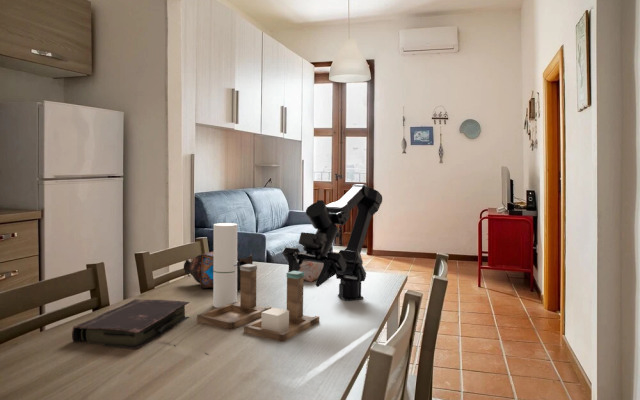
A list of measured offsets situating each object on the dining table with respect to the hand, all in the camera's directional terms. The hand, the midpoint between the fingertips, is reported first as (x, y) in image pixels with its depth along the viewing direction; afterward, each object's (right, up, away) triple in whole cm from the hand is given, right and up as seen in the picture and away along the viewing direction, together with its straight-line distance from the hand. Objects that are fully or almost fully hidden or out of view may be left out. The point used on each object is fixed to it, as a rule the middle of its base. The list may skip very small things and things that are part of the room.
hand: (302, 283), depth 132 cm
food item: (+2, -8, +53) cm, 54 cm away
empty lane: (-19, -10, +1) cm, 21 cm away
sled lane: (-5, -11, -7) cm, 14 cm away
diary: (-43, -11, -7) cm, 45 cm away
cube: (-7, -10, -10) cm, 16 cm away
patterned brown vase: (-32, -8, +39) cm, 51 cm away
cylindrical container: (-24, -10, +16) cm, 31 cm away
